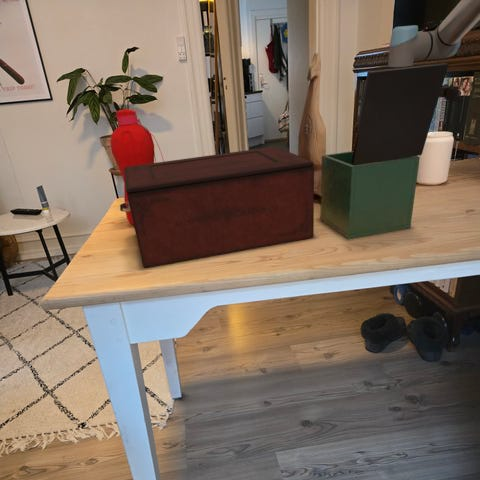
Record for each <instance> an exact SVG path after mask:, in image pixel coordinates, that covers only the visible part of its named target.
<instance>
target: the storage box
mask: <svg viewBox="0 0 480 480" xmlns="http://www.w3.org/2000/svg"><path fill="white" fill-rule="evenodd" d="M313 165H314V163H313V162H311V161H309V160H307V159H304V158H302V157H300V156H298V154H295V153H294V152H290V151H289V150H286V149H283V148H282V147H279V146H269V147H268V146H267V147H262V148H255V149H247V150H246V149H245V150H240V151H239V150H238V151H231V152H226V153H218V154H211V155H209V154H208V155H203V156H196V157H189V158H180V159H174V160H165V161H164V162H163V161H159V162H154V163H151V164H143V165H136V166H129V167H124V174H125V185H126V192H127V198H128V202H125V201H124V202H123V203H121V204H120V205H119V210H120V212H124V213H126V212H129V211H131V215H132V220H133V224H134V225H133V228H134V232H135V237H136V241H137V245H138V250H139V254H140V255H139V256H140V259H141V264H142V268H144V269H147V268H153V267H158V266H163V265H169V264H174V263H181V262H186V261H192V260H198V259H204V258H209V257H214V256H220V255H225V254H230V253H236V252H241V251H242V252H243V251H248V250H252V249H258V248H263V247H268V246H275V245H280V244H285V243H291V242H297V241H304V240H308V239H313V238H314V236H315V235H314V234H315V233H314V232H315V231H314V229H315V228H314V221H315V220H314V219H315V217H314V216H315V193H314V167H313ZM126 205H128V206H129V208H126Z"/></svg>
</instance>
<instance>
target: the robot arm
mask: <svg viewBox="0 0 480 480" xmlns="http://www.w3.org/2000/svg"><path fill="white" fill-rule="evenodd" d="M478 22H480V0H460V1H459V2H458V3H457V5H456V6H455V7H454V8H453V9H452V10H451V11H450V13H449V14H448V15H447V16H446V17H445V18H444V19H443V21H442V22H441V23H440V24H439V25H438V26H437V27H436V29H434V30H431V31H419V26H418V25H415V24H414V25H403V26H396V27H394V28H393V29H392V31H391V36H390V40H389V52H388V62H387V68H386V69H395V68H404V67H413V66H414V62H420V61H430V60H443V59H447V58H451V57H454V55H455V54H457V52H458V51H459V50H458V49H459V48H460V46H461V43H462V39H463V37H464V36H465V35H466V34H467V33H469V31H470V30H472V29H473V27H474V26H475V25H476V24H477V23H478ZM459 94H460V86H459V85H455V84H454V83H452V84H449V85H444V84H443V85H442V89H441V92H440V95H439V98H444V99H445V100H448V101H450V102H452V103H457V102H458V97H459Z"/></svg>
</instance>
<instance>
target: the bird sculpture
mask: <svg viewBox="0 0 480 480" xmlns="http://www.w3.org/2000/svg"><path fill="white" fill-rule="evenodd" d="M321 71H322V59H321V56H320V54H319V53H318V52H315V53H314V54H313V57H312V59H311V62H310V65H309V68H308V72H307V77H306V80H307V81H309V84H308V87H307V93H306V96H305V97H306V98H305V102H304V106H303V111H302V116H301V119H300V120H301V121H300V126H299V131H298V139H297V141H298V143H297V146H298V147H297V156H300V157H302V158H304V159H307V160H309V161H311V162H313V163H314V165H313V167H314V194H316V195H318V196H319V197H320V198H321V171H322V155H327V130H326V125H325V122H324V120H323V117H322V115H321V113H320V82H321Z"/></svg>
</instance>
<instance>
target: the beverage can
mask: <svg viewBox="0 0 480 480" xmlns="http://www.w3.org/2000/svg"><path fill="white" fill-rule="evenodd" d="M453 134H454V133H453V132H451V131H429V132H428V135H427V138H426V142H425V145H424V148H423V152H422V155H418V157H420V160H419V167H418V174H417V182H416V183H417V184H419V185H423V186H437V185H442V184H444V183H446V182H447V181H448V178H449V177H448V176H449V171H450V165H451V159H452V153H453V147H454V141H455V137H454V136H453Z"/></svg>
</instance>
